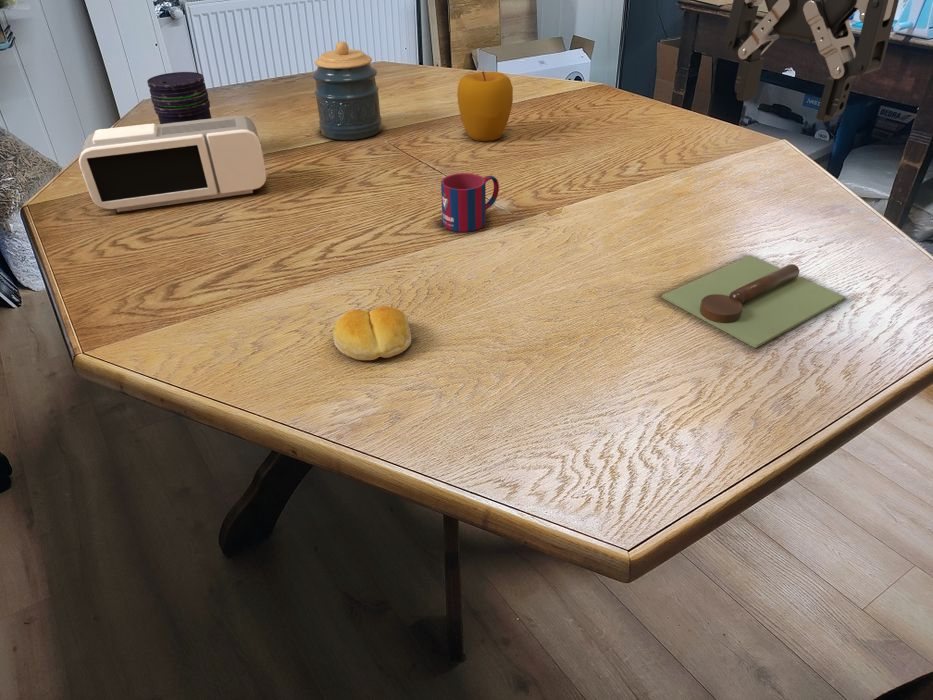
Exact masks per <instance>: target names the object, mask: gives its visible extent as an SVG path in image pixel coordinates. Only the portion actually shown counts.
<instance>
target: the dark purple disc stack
mask: <svg viewBox="0 0 933 700" xmlns="http://www.w3.org/2000/svg"><path fill="white" fill-rule="evenodd" d="M146 83H147V86H148V88H149V93H150V99H151V103H152V104H153V110H154V113H155V114H156V115H157V117H158V121H159V124H167V123H176V122H185V121H194V120H203V119H212V113H211V110H210V107H211V102H210V100H209V93H208V90H207V87H206V83H205V77H204V75H203V74H202V73H200V72H195V71H175V72H168V73H162V74H158V75H154V76H152V77H150V78H148V79H147V81H146Z"/></svg>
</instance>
